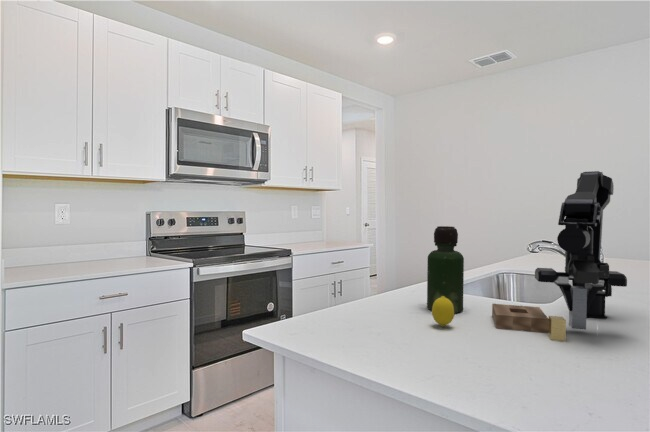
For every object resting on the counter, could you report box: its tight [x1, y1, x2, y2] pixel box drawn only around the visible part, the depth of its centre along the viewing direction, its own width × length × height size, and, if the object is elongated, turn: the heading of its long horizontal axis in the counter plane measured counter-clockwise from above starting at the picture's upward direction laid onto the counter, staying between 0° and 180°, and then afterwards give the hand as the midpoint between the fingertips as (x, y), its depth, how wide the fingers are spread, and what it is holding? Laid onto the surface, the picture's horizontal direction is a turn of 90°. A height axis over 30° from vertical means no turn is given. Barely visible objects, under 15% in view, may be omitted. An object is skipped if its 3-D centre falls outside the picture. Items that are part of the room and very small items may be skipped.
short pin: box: [547, 315, 567, 342], centre depth 96 cm, size 3×3×5 cm
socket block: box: [491, 303, 549, 334], centre depth 108 cm, size 12×12×4 cm
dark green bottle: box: [426, 225, 465, 314], centre depth 122 cm, size 10×10×25 cm
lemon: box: [431, 296, 455, 328], centre depth 105 cm, size 6×6×8 cm
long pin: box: [568, 285, 587, 331], centre depth 101 cm, size 3×3×10 cm
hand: (577, 311), depth 101 cm, fingers closed on long pin, 3 cm apart
